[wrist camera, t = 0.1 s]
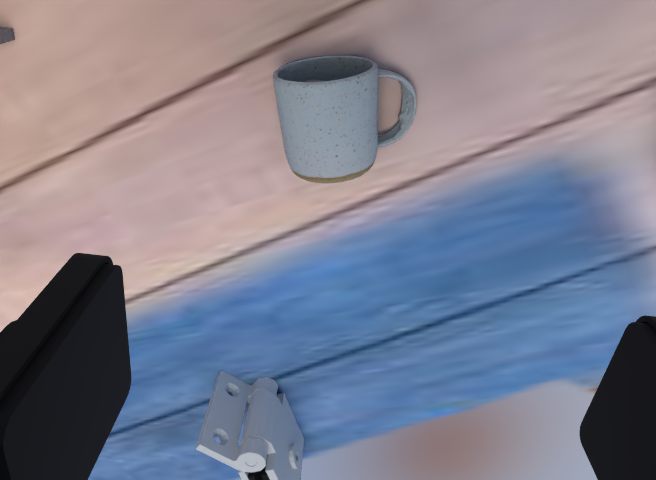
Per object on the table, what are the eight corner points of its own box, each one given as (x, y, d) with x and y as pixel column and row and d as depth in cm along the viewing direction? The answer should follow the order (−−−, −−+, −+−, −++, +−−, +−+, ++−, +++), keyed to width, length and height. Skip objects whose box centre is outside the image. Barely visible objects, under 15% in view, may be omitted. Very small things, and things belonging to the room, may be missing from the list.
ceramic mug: (291, 157, 47) (284, 194, 41) (277, 60, 44) (266, 82, 37) (415, 146, 47) (428, 181, 40) (412, 45, 43) (426, 66, 36)
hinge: (215, 371, 60) (193, 446, 51) (257, 354, 58) (241, 428, 50) (281, 451, 65) (271, 530, 57) (321, 436, 64) (317, 516, 55)
